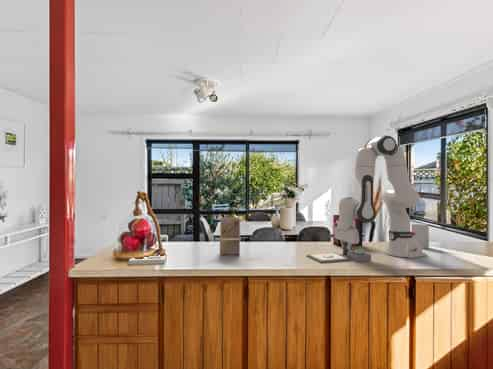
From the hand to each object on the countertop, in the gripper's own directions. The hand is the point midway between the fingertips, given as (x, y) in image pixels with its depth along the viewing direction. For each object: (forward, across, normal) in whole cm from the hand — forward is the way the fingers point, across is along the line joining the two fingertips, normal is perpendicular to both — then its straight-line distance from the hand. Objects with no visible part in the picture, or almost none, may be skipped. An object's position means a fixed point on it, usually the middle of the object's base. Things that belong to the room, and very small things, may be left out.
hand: (346, 248), depth 201 cm
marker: (+4, 0, 0) cm, 4 cm away
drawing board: (+4, -5, +15) cm, 16 cm away
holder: (+4, +33, +107) cm, 112 cm away
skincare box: (+4, +6, -60) cm, 60 cm away
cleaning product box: (+4, +26, -18) cm, 32 cm away
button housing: (+4, -12, 0) cm, 13 cm away
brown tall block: (+4, +20, +65) cm, 68 cm away
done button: (+1, -12, 0) cm, 12 cm away
